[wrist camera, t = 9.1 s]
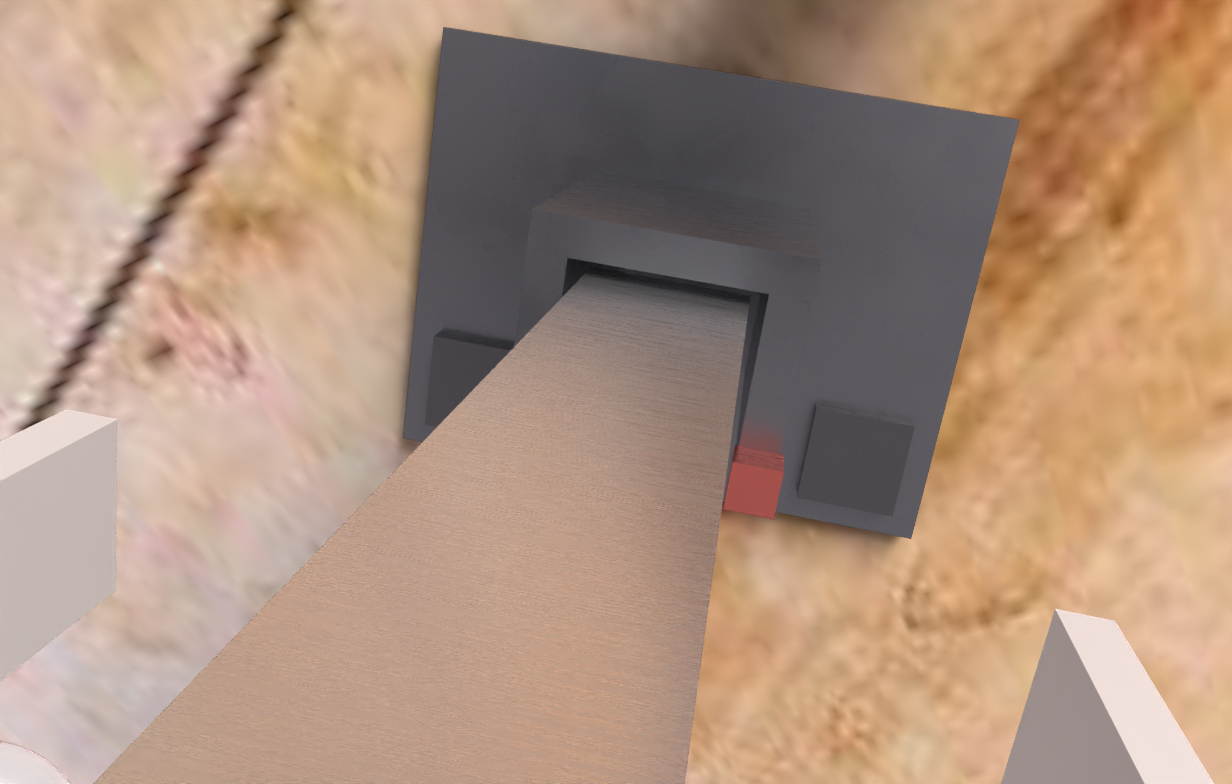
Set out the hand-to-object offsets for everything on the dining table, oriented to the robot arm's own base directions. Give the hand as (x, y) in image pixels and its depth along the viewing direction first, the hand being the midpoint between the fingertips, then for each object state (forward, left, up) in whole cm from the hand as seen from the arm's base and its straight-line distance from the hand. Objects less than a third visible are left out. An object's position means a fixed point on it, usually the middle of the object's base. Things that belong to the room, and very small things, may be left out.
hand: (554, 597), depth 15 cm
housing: (0, 0, -23) cm, 23 cm away
